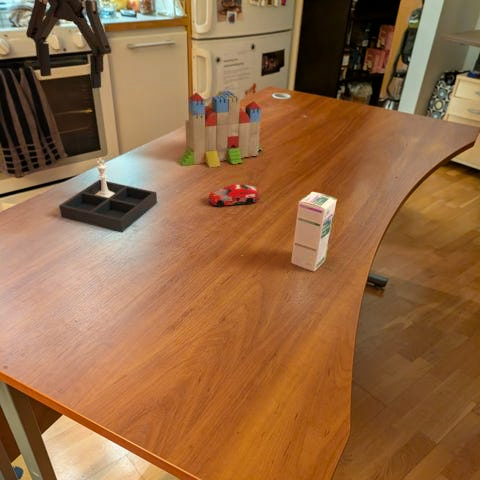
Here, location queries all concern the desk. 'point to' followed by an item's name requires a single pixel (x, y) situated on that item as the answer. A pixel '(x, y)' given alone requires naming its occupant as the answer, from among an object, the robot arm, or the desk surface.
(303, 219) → the syrup box
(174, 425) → the desk surface
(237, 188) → the race car
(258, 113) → the block set
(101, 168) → the chess piece
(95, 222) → the grid
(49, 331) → the desk surface
